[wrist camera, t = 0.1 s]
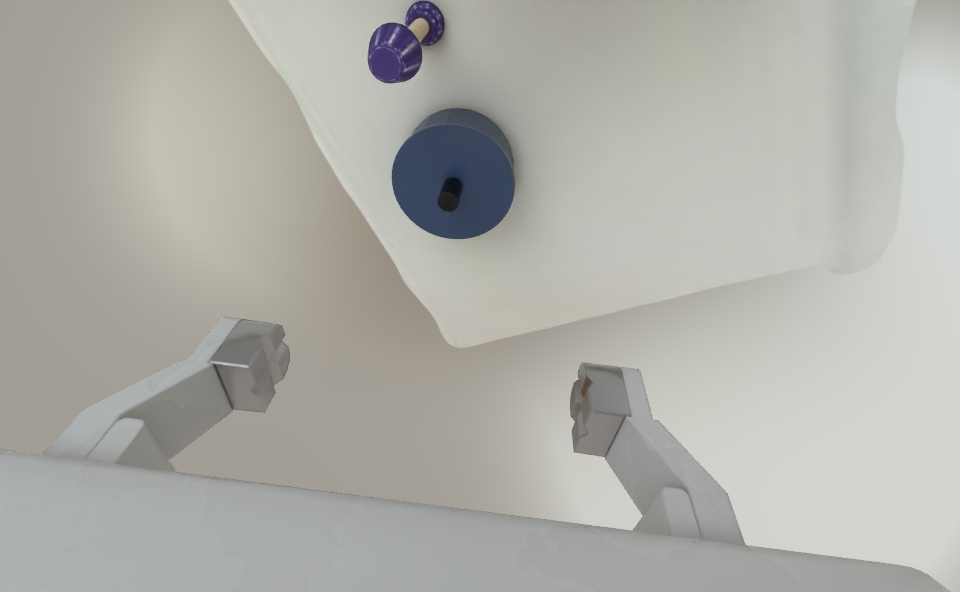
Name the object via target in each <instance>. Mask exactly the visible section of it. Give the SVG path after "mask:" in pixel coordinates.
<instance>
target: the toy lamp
mask: <svg viewBox="0 0 960 592" xmlns="http://www.w3.org/2000/svg"><path fill="white" fill-rule="evenodd" d="M443 32H444V18H443V15H442V13H441V12H440V10H439V9H438V8H437V7H436V6H435V5H434V4H433V3H431V2H428V1H419V2H416V3H414V4H413V5H412V6H411V7H410V8H409V10H408V12H407V15H406V27H405V26H404V25H402V24H398V23H386V24H383V25H381V26H380V27H379V28H377V29H376V30H375V32H374V33H373V35H372V37H371V40H370V43H369V50H368V65H369V68H370V70H371V72H372V74H373V75H374V76H375V77H376V78H377V79H378V80H380V81H382V82H384V83H398V82H404V81H407V80H409V79H411V78H412V77H414V76H415V74H416V73H417V72H418V70H419V68H420V66H421V62H422V49H421V46H420V45H424V46H429V45H433V44H435V43H436V42H437V41H438V40H439V39H440V38H441V36H442V35H443Z"/></svg>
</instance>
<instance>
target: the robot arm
mask: <svg viewBox="0 0 960 592" xmlns="http://www.w3.org/2000/svg"><path fill="white" fill-rule="evenodd" d="M284 336H285V333H284V329H283V326H281V325H278V324H271V323H265V322H258V321H252V320H245V319H236V318H230V317H223V318H222V319H220V320H219V321H218V322H217V323H216V324H215V326H214V327H213V328H212V329H211V331H210V332H209V333H208V335H207V336H206V337H205V338H204V339H203V341H202V342H201V343H200V345H199V346H198V347H197V348H196V350H195V351H194V352H193V353H192V355H191V356H190V357H189V358H188V360H180V361H178V362H176V363H174V364H172V365H170V366H168V367H166V368H164V369H162V370H160V371H158V372H156V373H155V374H153V375H151V376H149V377H147V378H145V379H143V380H141V381H139V382H137V383H135V384H133V385H131V386H129V387H127V388H125V389H123V390H121V391H119V392H117V393H115V394H113V395H111V396H109V397H107V398H106V399H104V400H102V401H100V402H98V403H96V404H94V405H92V406H90V407H88V408H86V409H84V410H82V411H81V413H80V414H79V415H78V416H77V417H76V418H75V419H74V420H73V421H72V422H71V423H70V424H69V426H68V427H67V428H66V429H65V430H64V431H63V432H62V433H61V434H60V435H59V436H58V438H57V439H56V440H55V441H54V442H53V443H52V444H51V445H50V446H49V447H48V448H47V449H46V450H45V451H44V453H43V454H34V453H26V452H18V451H11V450H10V451H9V450H3V449H0V592H950V591H949V590H947V589H946V588H945V587H943V586H942V585H941V584H940V583H938V582H937V581H936V580H934V579H933V578H932V577H931V576H929V575H928V574H926V573H924V572H922V571H920V570H916V569H914V568H911V567H906V566H901V565H895V564H887V563H880V562H872V561H864V560H856V559H848V558H841V557H833V556H825V555H817V554H809V553H801V552H794V551H786V550H778V549H770V548H763V547H755V546H747V545H745V543H744V540H743V537H742V534H741V531H740V528H739V525H738V522H737V520H736V516H735V514H734V511H733V508H732V505H731V502H730V499H729V496H728V493H726V491H725V490H724V489H723V488H722V487H721V486H720V485H719V484H718V483H717V482H716V481H715V480H714V479H713V478H712V476H711V475H710V474H709V473H708V472H707V471H706V470H705V469H704V468H703V467H702V466H701V465H700V464H699V463H698V462H697V461H696V460H695V459H694V457H693V456H692V455H691V454H690V453H689V452H688V451H687V450H686V449H685V448H684V447H683V446H682V445H681V444H680V443H679V442H678V441H677V440H676V438H674V436H673V435H672V434H671V433H670V432H669V431H668V430H667V429H666V428H665V427H664V426H663V425H662V424H661V423H660V422H659V421H658V420H653V418H652V414H651V411H650V407H649V403H648V399H647V395H646V391H645V387H644V383H643V379H642V375H641V372H640V371H639V369H634V368H625V367H618V366H617V367H616V366H609V365H600V364H592V363H582V364H581V365H580V367H579V370H578V377H579V380H577V381H576V382H574V385H573V388H572V392H571V399H570V413H571V417H572V418H573V419H574V421H575V423H574V426H573V429H572V436H573V448H574V452H577V453H583V454H589V455H596V456H603V457H605V459H606V461H607V462H608V464H609V465H610V467H611V468H612V470H613V471H614V473H615V474H616V476H617V477H618V479H619V480H620V482H621V483H622V485H623V486H624V488H625V489H626V491H627V493H628V494H629V496H630V497H631V499H632V500H633V502H634V503H635V505H636V506H637V508H638V509H639V511H640V512H641V514H642V515H643V517H642V518H641V520H640V521H639V522H638V524H637V525H636V527H635V528H634V529H633V531H631V530H623V529H615V528H608V527H600V526H592V525H584V524H576V523H569V522H560V521H553V520H546V519H538V518H530V517H521V516H514V515H506V514H499V513H491V512H483V511H476V510H468V509H459V508H452V507H445V506H437V505H429V504H421V503H413V502H406V501H398V500H390V499H381V498H374V497H366V496H359V495H351V494H342V493H335V492H327V491H319V490H312V489H304V488H297V487H289V486H280V485H273V484H266V483H258V482H250V481H242V480H235V479H226V478H219V477H211V476H204V475H196V474H188V473H180V472H177V471H176V470H175V468H174V466H173V465H172V463H171V462H170V460H169V459H171V458H172V457H173V456H174V455H176V454H177V453H179V452H180V451H181V450H183V449H184V448H185V447H186V446H188V445H189V444H190V443H192V442H193V441H194V440H196V439H197V438H198V437H200V436H201V435H202V434H203V433H205V432H206V431H207V430H209V429H210V428H211V427H213V426H214V425H215V424H217V423H218V422H219V421H221V420H222V419H223V418H225V417H226V416H227V415H228V414H230V413H231V412H232V411H233V410H232V409H234V410H244V411H254V412H265V411H266V409H267V407H268V405H269V404H270V402H271V400H272V398H273V396H274V394H275V389H274V385H275V384H276V383H278V382H279V381H281V380H282V379H283V378H284V376H285V374H286V372H287V369H288V365H289V361H290V352H289V348H288V346H287V345H286V344H285V343H284V342H283V341H282V339H283V337H284Z"/></svg>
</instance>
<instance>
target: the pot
mask: <svg viewBox="0 0 960 592" xmlns="http://www.w3.org/2000/svg"><path fill="white" fill-rule="evenodd" d="M448 122H449V123H460V124H465V125H468V126H471V127H474V128H476V129H478V130H480V131H482V132H484V133H485V134H487V135H489V136H490V137H491V138H492V139H493V140H495V141H496V142H497V143H498V144H499V146H500V147H501V148H502V149H503V151H504V152H505V154H506V155H507V157H508V159H509V161H510V163H511V166H512V167H513V159H512V154H511V149H510V146H509V143H508V141H507V139H506V137H505V135H504V134H503V132H502V131H501V130H500V129H499V127H498V126H497V125H496V124H495V123H494V122H492V121H491V120H490V119H488V118H487V117H485V116H484V115H482V114H480V113H477V112H474V111H471V110H467V109H457V108H455V109H447V110H442V111H440V112H437V113H435V114H433V115H430V116H429V117H428V118H427V119H425V120H424V121H423V122H422V123H421V124H420V125H419V126H418V127H417V128H416V129H415V130H414V132H413V134H414V133H416V132H417V131H419V130H421V129H422V128H425V127H427V126H430V125H434V124H438V123H448ZM413 134H412V135H413Z"/></svg>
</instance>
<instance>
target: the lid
mask: <svg viewBox="0 0 960 592" xmlns="http://www.w3.org/2000/svg"><path fill="white" fill-rule="evenodd" d="M392 186H393V190H394V194H395V197H396V199H397V202H398V203H399V205H400V207H401V209H402V210H403V211H404V213H405V214H406V215H407V216H408V217H409V219H410V220H412V221H413V222H414V223H415V224H416V225H418V226H419V227H420V228H422V229H424V230H425V231H427V232H429V233H432V234H434V235H437V236H440V237H444V238H450V239H466V238H472V237H475V236H479V235H481V234H483V233H486V232H487V231H489V230H491V229H492V228H494V227H495V226H496V225H497V224H498V223H499V222H500V221H501V220H502V219H503V218H504V217H505V215H506V214H507V212H508V210H509V208H510V206H511V203H512V201H513V196H514V188H515V181H514V173H513V169H512V166H511V163H510V161H509V159H508V157H507V155H506V154H505V152H504V151H503V149H502V148H501V147H500V146H499V144H498V143H497V142H496V141H495V140H493V139H492V138H491V137H490V136H489V135H487V134H485V133H484V132H482V131H480V130H478V129H476V128H474V127H471V126H468V125H465V124H460V123H449V122H448V123H438V124H434V125H430V126H427V127H425V128H422V129H421V130H419V131H417V132H416V133H414V134H413V135H412V136H410V137H409V138H408V139H407V140H406V141H405V142H404V144H403V145H402V147H401V148H400V150H399V151H398V153H397V155H396V158H395V161H394V164H393V169H392Z"/></svg>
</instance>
